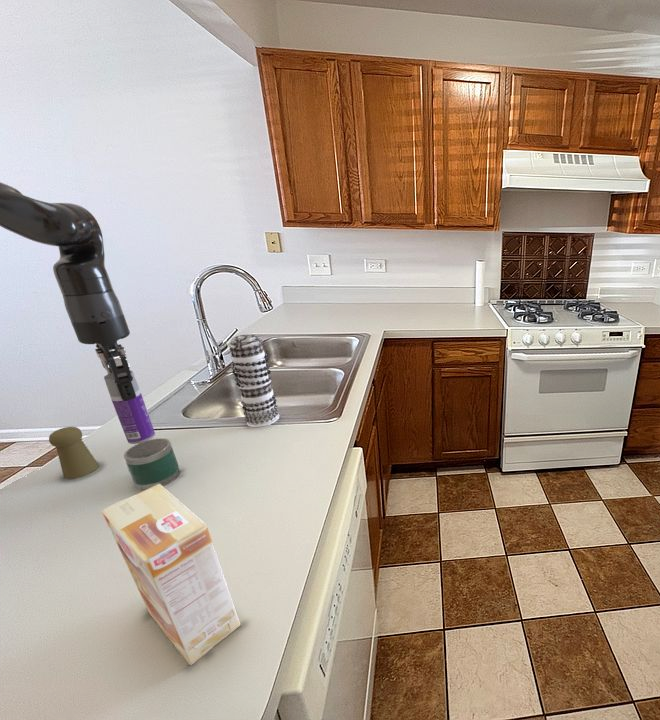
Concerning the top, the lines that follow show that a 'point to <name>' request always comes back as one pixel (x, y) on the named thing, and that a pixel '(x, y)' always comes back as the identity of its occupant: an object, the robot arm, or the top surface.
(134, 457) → the tin can
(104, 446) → the top surface
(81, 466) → the cork
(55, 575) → the top surface
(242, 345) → the decorative candle
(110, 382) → the container
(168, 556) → the coffeecake box
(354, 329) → the top surface
